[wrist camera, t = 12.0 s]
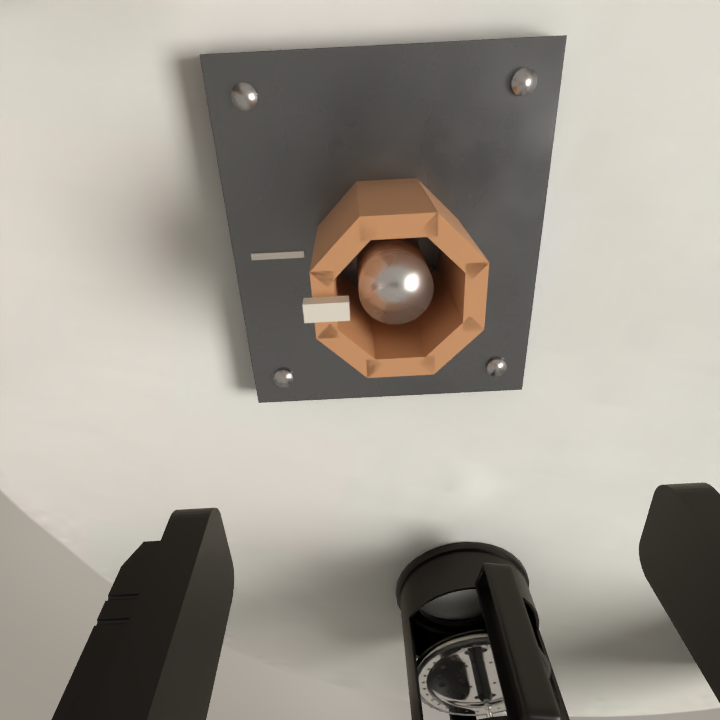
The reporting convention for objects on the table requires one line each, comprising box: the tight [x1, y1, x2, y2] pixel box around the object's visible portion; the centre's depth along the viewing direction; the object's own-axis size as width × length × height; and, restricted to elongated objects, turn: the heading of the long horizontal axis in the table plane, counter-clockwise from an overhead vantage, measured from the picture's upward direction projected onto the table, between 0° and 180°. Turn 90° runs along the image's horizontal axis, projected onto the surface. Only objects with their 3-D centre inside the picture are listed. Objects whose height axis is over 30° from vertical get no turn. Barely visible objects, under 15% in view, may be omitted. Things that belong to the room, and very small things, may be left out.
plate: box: [200, 35, 567, 403], centre depth 22 cm, size 16×14×6 cm
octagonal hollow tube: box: [302, 178, 489, 378], centre depth 21 cm, size 6×6×7 cm
